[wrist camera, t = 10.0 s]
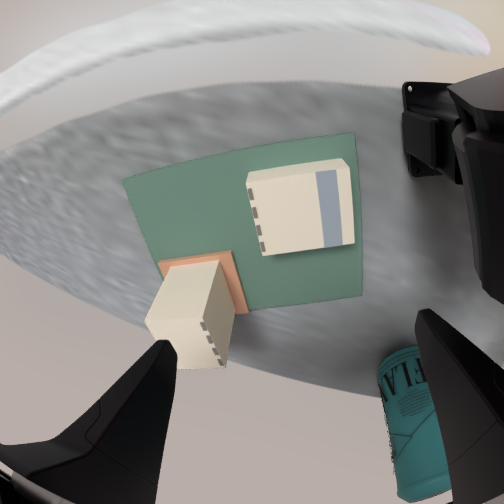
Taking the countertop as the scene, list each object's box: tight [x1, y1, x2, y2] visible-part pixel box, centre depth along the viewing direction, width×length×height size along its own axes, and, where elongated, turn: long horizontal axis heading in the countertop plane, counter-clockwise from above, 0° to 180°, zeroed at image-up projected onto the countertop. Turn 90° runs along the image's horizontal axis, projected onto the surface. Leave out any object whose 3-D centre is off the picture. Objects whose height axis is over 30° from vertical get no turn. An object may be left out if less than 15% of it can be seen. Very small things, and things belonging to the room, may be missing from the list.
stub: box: [144, 260, 236, 369], centre depth 21 cm, size 4×5×6 cm
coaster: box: [158, 250, 249, 314], centre depth 24 cm, size 6×6×1 cm
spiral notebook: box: [246, 158, 355, 256], centre depth 18 cm, size 6×5×2 cm
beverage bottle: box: [377, 346, 453, 504], centre depth 19 cm, size 6×7×20 cm
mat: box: [122, 133, 362, 310], centre depth 21 cm, size 16×13×1 cm
